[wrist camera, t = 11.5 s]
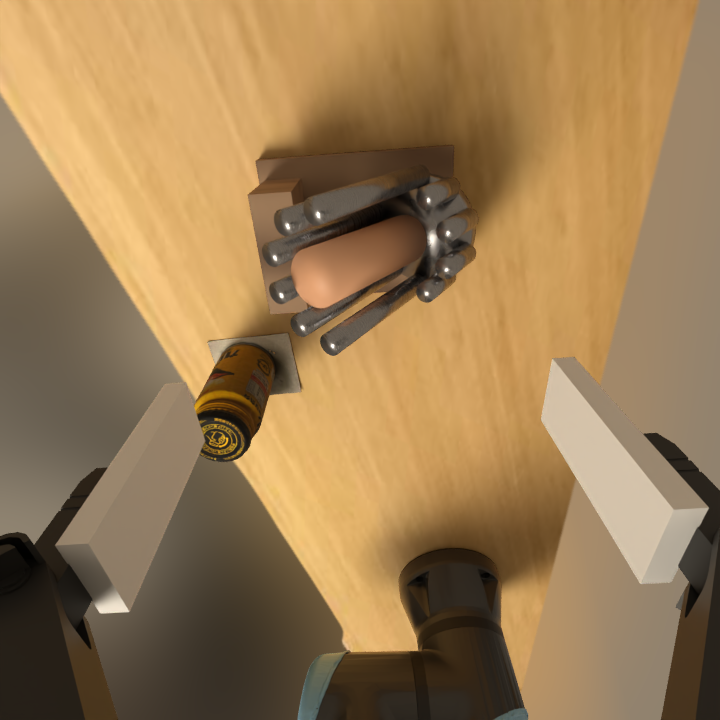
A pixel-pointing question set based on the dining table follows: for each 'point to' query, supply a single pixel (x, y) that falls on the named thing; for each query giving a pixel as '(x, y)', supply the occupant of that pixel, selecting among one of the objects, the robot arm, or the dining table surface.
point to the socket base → (322, 174)
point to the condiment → (242, 391)
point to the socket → (359, 210)
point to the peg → (356, 259)
